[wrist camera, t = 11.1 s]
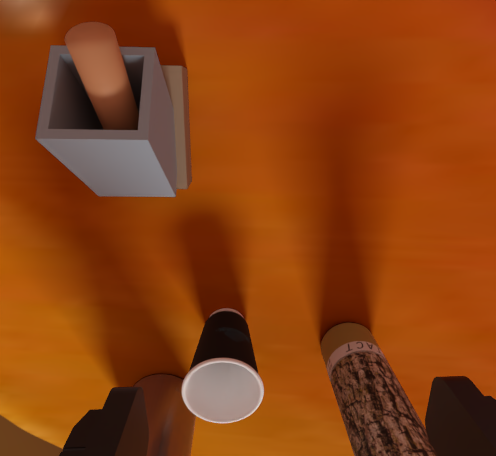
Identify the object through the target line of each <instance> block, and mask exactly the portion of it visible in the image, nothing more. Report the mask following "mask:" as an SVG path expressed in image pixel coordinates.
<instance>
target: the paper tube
mask: <svg viewBox="0 0 496 456" xmlns="http://www.w3.org/2000/svg"><path fill="white" fill-rule="evenodd" d="M321 352H322V355H323V359H324V362H325V365H326V368H327V371H328V375H329V378H330V381H331V384H332V387H333V390H334V393H335V396H336V399H337V402H338V406H339V409H340V412H341V415H342V418H343V421H344V424H345V427H346V430H347V433H348V436H349V440H350V443H351V446H352V449H353V452H354V455H355V456H437V454H436V452H435V450H434V449H433V447H432V445H431V443H430V441H429V438H428V435H427V432H426V429H425V427H424V426H423V424H422V422H421V420H420V419H419V417H418V415H417V413H416V411H415V410H414V408H413V406H412V404H411V403H410V401H409V399H408V397H407V395H406V394H405V392H404V390H403V388H402V387H401V385H400V383H399V381H398V380H397V378H396V376H395V374H394V372H393V371H392V369H391V367H390V365H389V364H388V362H387V360H386V358H385V356H384V355H383V353H382V351H381V350H380V348H379V346H378V344H377V343H376V341H375V339H374V337H373V336H372V334H371V332H370V331H369V330H368V329H367V328H366V327H364V326H362V325H360V324H357V323H341V324H338V325H336V326H334V327H332V328H331V329H330V330H329V331H328V332H327V333H326V334H325V336H324V337H323V339H322V342H321Z"/></svg>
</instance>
